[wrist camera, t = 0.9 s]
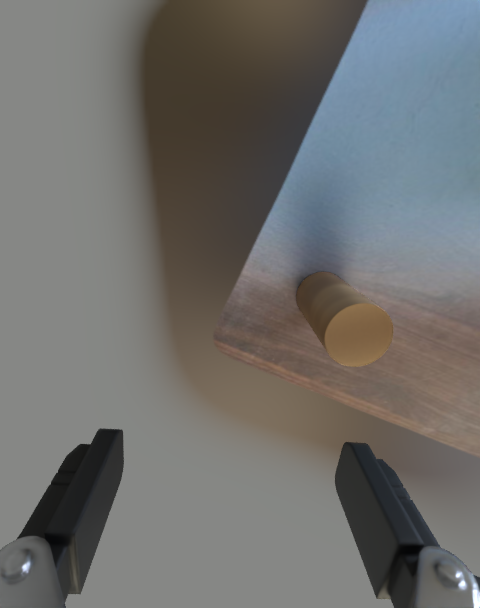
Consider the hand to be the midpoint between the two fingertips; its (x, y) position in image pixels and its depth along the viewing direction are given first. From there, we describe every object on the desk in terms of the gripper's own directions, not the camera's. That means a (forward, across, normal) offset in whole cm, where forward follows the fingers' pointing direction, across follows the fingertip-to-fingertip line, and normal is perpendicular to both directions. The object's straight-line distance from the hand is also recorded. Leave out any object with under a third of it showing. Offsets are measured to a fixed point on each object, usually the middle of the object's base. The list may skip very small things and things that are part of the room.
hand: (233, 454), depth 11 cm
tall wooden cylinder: (+22, -10, 0) cm, 24 cm away
